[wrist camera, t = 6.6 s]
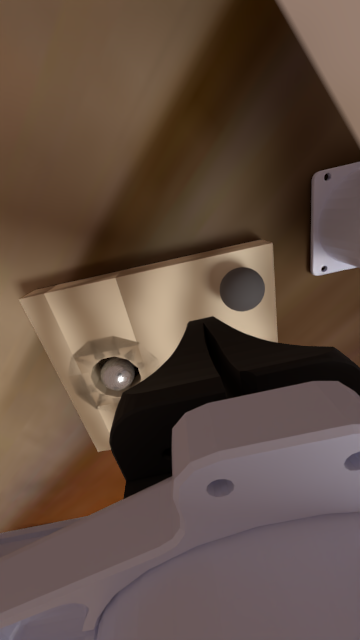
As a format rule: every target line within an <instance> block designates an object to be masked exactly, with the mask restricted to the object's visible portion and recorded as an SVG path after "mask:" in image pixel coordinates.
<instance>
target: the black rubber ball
mask: <svg viewBox="0 0 360 640" xmlns="http://www.w3.org/2000/svg"><path fill="white" fill-rule="evenodd" d="M264 293H265V284H264V281H263V279H262V277H261V276H260V274H259V273H258V272H256V271H255V270H253V269H251V268H247V267H239V268H235V269H233V270H231V271H229V272H228V273H227V274H226V275H225V276H224V277H223V279H222V281H221V284H220V296H221V299H222V301H223V302H224V304H225V305H226V306H227V307H229V308H230V309H232V310H235V311H240V312H243V311H248V310H251V309H253V308H255V307H256V306H257V305H258V304H259V303H260V302H261V301H262V299H263V297H264Z"/></svg>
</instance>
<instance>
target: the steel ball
mask: <svg viewBox="0 0 360 640" xmlns="http://www.w3.org/2000/svg"><path fill="white" fill-rule="evenodd" d="M134 376H135V370H134V366H133V364H132V363H131V362H130V361H129V360H127V359H123V358H119V357H113V358H111V359H109V360H108V361H106V362H105V363H104V365H103V367H102V369H101V380H102V382H103V384H104V385H105V386H106V387H107V388H108V389H111V390H115V391H119V390H123V389H125V388H127V387H128V386H129V385H130V384H131V383H132V381H133V379H134Z"/></svg>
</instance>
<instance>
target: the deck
mask: <svg viewBox="0 0 360 640" xmlns="http://www.w3.org/2000/svg"><path fill="white" fill-rule="evenodd" d="M239 267H247V268H251V269H253V270H255V271H256V272H258V273H259V274H260V276H261V277H262V279H263V281H264V284H265V293H264V297H263V299H262V301H261V302H260V303H259V304H258V305H257V306H256V307H255V308H253V309H251V310H248V311H243V312H240V311H235V310H232V309H230V308H229V307H227V306H226V305H225V304H224V302H223V301H222V299H221V296H220V284H221V281H222V279H223V277H224V276H225V275H226V274H227V273H228V272H229V271H231V270H233V269H235V268H239ZM19 301H20V303H21V305H22V307H23V309H24V311H25V312H26V314H27V316H28V318H29V320H30V322H31V324H32V326H33V328H34V330H35V332H36V334H37V335H38V337H39V339H40V341H41V343H42V345H43V347H44V349H45V351H46V353H47V355H48V357H49V358H50V360H51V362H52V364H53V366H54V368H55V370H56V372H57V374H58V376H59V378H60V380H61V381H62V383H63V385H64V387H65V389H66V391H67V393H68V395H69V397H70V399H71V401H72V403H73V404H74V406H75V408H76V410H77V412H78V414H79V416H80V418H81V420H82V422H83V424H84V426H85V427H86V429H87V431H88V433H89V435H90V437H91V439H92V441H93V443H94V445H95V447H96V449H97V451H98V452H99V451H105V450H110V449H111V448H110V444H109V438H110V431H111V427H112V423H113V419H114V415H115V412H116V409H117V406H118V403H119V401H120V398H121V396H122V393H123V392H124V391H126V390H128V389H130V388H131V387H133V386H135V385H136V384H138V383H140V382H141V381H143V380H144V379H146V378H147V377H149V376H150V375H151V374H153V373H154V372H155V371H156V370H157V369H159V368H160V367H161V366H162V365H163V364H164V363H165V362H166V361H167V360H168V359H169V358H170V356H171V355H172V354H173V352H174V351H175V349H176V348H177V346H178V344H179V343H180V341H181V339H182V337H183V335H184V332H185V330H186V327H187V324H188V322H189V321H193V320H198V319H202V318H207V317H211V316H214V317H216V318H217V319H219V320H220V321H222V322H224V323H225V324H227V325H229V326H231V327H232V328H234V329H236V330H239V331H241V332H243V333H245V334H248V335H251V336H254V337H257V338H260V339H264V340H267V341H272V342H277V343H278V338H277V319H276V299H275V279H274V260H273V243H271V242H268V241H265V240H262V239H260V240H256V241H252V242H247V243H243V244H238V245H234V246H229V247H225V248H220V249H216V250H211V251H207V252H202V253H198V254H193V255H189V256H184V257H180V258H175V259H171V260H167V261H162V262H158V263H153V264H149V265H144V266H140V267H135V268H131V269H126V270H122V271H117V272H113V273H108V274H104V275H99V276H95V277H90V278H86V279H82V280H77V281H73V282H68V283H64V284H59V285H55V286H50V287H46V288H41V289H37V290H34V291H32V292H30V293H29V294H27V295H25V296H24V297H22V298H20V299H19ZM114 356H115V357H119V358H123V359H127V360H129V361H130V362H131V363H133V364H134V365H135V366H136V367H137V368H138V370H139V373H140V374H138V375H137V376H136V377H135V378H134V379H133V381H132V383H131V384H130V385H129V386H128V387H127V388H125V389H123V390H119V391H115V390H111V389H108V388H107V387H106V386H105V385H104V384H103V382H102V380H101V368H100V365H99V363H98V362H99V361H100V360H101V359H104V358H109V357H114Z"/></svg>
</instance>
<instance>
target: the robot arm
mask: <svg viewBox="0 0 360 640" xmlns="http://www.w3.org/2000/svg"><path fill="white" fill-rule="evenodd" d="M325 174H327V175H328V179H327V180H326V181H325V180H324V176H325ZM323 266H325V268H324V270H322V271H321V268H322V267H323ZM356 267H359V268H360V162H356V163H352V164H348V165H343V166H339V167H335V168H331V169H326V170H322V171H318V172H316V173H315V174H314V175H313V177H312V188H311V268H310V271H311V273H312V274H313V275H315V276H318V275H323V274H328V273H333V272H337V271H342V270H347V269H351V268H356ZM109 444H110V448H111V451H112V453H113V455H114V457H115V459H116V461H117V463H118V465H119V467H120V469H121V472H122V474H123V476H124V478H125V480H126V486H125V493H124V499H123V500H121V501H119V502H117V503H115V504H112V505H110V506H108V507H106V508H104V509H102V510H100V511H98V512H96V513H94V514H91V515H89V516H86V517H81V518H76V519H71V520H66V521H60V522H55V523H50V524H45V525H40V526H35V527H30V528H25V529H20V530H14V531H9V532H4V533H0V640H360V368H359V367H358V366H357V365H356V364H355V363H354V362H353V361H351V360H350V359H349V358H348V357H346V356H345V355H344V354H343V353H341V352H340V351H339V350H337V349H336V348H334V347H317V346H299V345H289V344H282V343H277V342H272V341H267V340H264V339H260V338H257V337H254V336H251V335H248V334H245V333H243V332H241V331H239V330H236V329H234V328H232V327H231V326H229V325H227V324H225V323H224V322H222V321H220V320H219V319H217V318H216V317H214V316H211V317H207V318H202V319H198V320H193V321H189V322H188V324H187V327H186V330H185V332H184V335H183V337H182V339H181V341H180V343H179V344H178V346H177V348H176V349H175V351H174V352H173V354H172V355H171V356H170V358H169V359H168V360H167V361H166V362H165V363H164V364H163V365H162V366H161V367H160V368H159V369H157V370H156V371H155V372H154V373H153V374H151V375H150V376H149V377H147V378H146V379H144V380H143V381H141V382H140V383H138V384H136V385H135V386H133V387H131V388H130V389H128V390H126V391H124V392H123V393H122V396H121V398H120V401H119V403H118V406H117V409H116V412H115V415H114V419H113V423H112V427H111V431H110V438H109Z"/></svg>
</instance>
